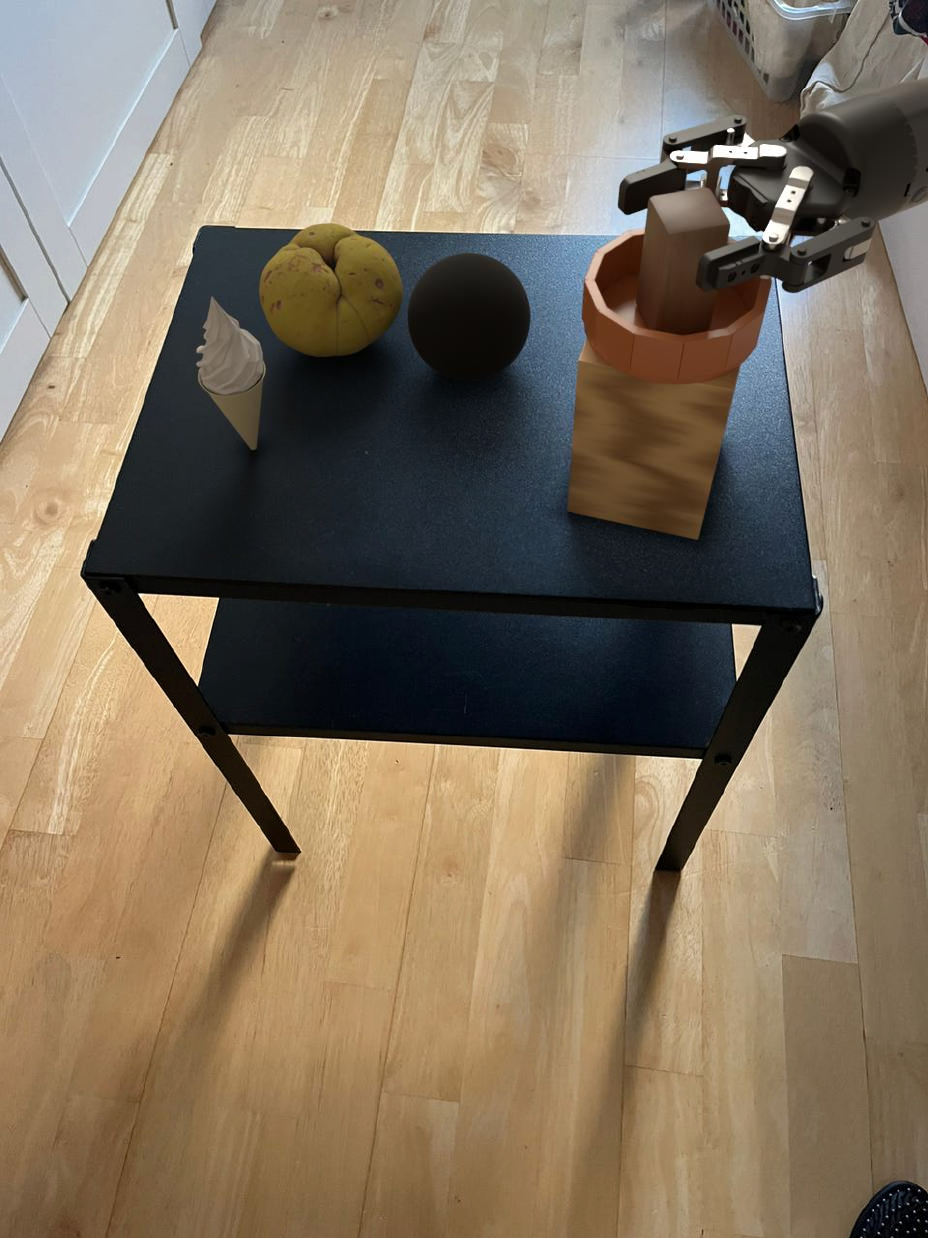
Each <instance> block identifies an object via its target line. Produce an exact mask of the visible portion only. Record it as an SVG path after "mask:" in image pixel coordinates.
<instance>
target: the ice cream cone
mask: <svg viewBox="0 0 928 1238" xmlns="http://www.w3.org/2000/svg"><path fill="white" fill-rule="evenodd" d="M202 328H203V329H204V330H206V331H205V332H204V334H203V339H204V340H205V344H204V345H200V346H198V347H197V348H196V354H202V358H201V360H199V361H197V362H196V367H198V368H199V369H198V375H197V380H198V383H199V385H200V386H201V388H202V389H203V390H204V391H205V392H207V394H208V395H209V397H211V399H212V400H213V402H214V403H215V404H216V406H217V407H218V408H219V409H220V411H221V412H222V413H223V415H224V416H225V418H227V420H228V421H229V422H230V425H232V427H233V428H234V429H235V430H236V431H237V433H238V435H239V436H240V437H241V439H243V440H244V443H246V445H247V447H249V448H250V450H251V451H256V450H257V448H258V439H259V438H258V437H259V426H260V417H261V404H262V396H263V395H262V394H263V385H264V377H265V375H266V364H265V361H264V354H263V349H262V346H261V342H260V341H259V340H257V339H256V338H255V336H253V335H252V334H251V333H250V332H249V331H248V330H246V329H244V328H240V324H239V321H238V320H237V319H235V318H234V317H232V316H231V315H229V314H228V313H227V312H226V311H225V310H224V309H223V307H222V306H220V304H219V303H218V302H217V300H216V299H215V298H214V296H213V295H211V296H210V302H209V309H208V313H207V319H206V321H205V323H204V324H203V326H202Z"/></svg>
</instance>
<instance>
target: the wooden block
mask: <svg viewBox="0 0 928 1238" xmlns="http://www.w3.org/2000/svg"><path fill="white" fill-rule="evenodd" d="M645 217H646V218H645V224H644V225H645V226H644V228H645V232H644V240H643V248H642V257H641V265H640V273H639V281H638V289H637V297H636V303H637V305H638V307H639V309H640V311H641V314H642V316H643V318H644V320H645V322H646V324H647V326H648V328H649V330H655V331H660V332H666V333H671V334H677V335H679V334H685V333H690V332H696V331H702V330H706V329H708V328H709V327H710V325H711V320H712V315H713V310H714V305H715V300H716V295H717V291H718V290H715V289H713V290H711V291H708V292H703V291H702V290H701V289H700V288H699V287H698V286H697V285H696V283H695V280H696V274H697V269H698V263H699V260H700V258H701V257H702V256H703V255H704V254H706V253H708V252H711V251H713V250H716V249H719V248H722V247H724V246H727V241H728V236H729V235H730V231H731V222H730V220H729V217H728V216H727V214H726V213H725V211H724V210H723V207H721V206H720V205H719V203H718V201H717V200H716V198H715V196H714V195H713V193H712V191H711V190H710V189H709V188H698V189H692V190H686V191H680V192H674V193H668V194H662V195H656V196H652V197H651V198H650V199H649V201H648V208H647V209H646V216H645ZM729 237H730V236H729Z"/></svg>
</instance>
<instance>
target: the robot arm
mask: <svg viewBox="0 0 928 1238" xmlns="http://www.w3.org/2000/svg"><path fill="white" fill-rule="evenodd" d="M747 123H748V118H747V117H746V116H744V115H741V114H732V115H729V116H726V117H722V118H719V119H716V120H712V121H708V122H705V123H701V124H698V125H694V126H692V127H688V128H685V129H682V130H678V131H674V132H671V133H667V134H664V135H663V137H662V144H661V152H660V158H659V159H660V160H659V163H658V164H654V165H652V166H649V167H645V168H644V169H641V170H637V171H634V172H632V173H629V174H627V175H626V176H624V177H623V179H622V180H621V182H620V183H619V187H618V196H617V197H618V198H617V208H618V210H620V211H621V212H622V213H623V215H625V216H630V215H633V214H636V213H639V212H642V211H645V210H647V208H648V201H649V199H650V198H651V197H652V196H656V195H662V194H668V193H674V192H680V191H686V190H692V189H698V188H709V189H710V190H711V191H712V193H713V195H714V196H715V198H716V200H717V201H718V203H719V205H720V206H721V208H723V209H724V208H725V209H726V208H727V209H729V210H730V211H731V212H733V213H734V214H735V215H738V216H739V217H741V218H743V219H744V220H745V222H746V223H747V225H748V227H749V228H750V229H752V230H753V231H754V232H755V233H759V232H762V233H763V234H762V237H761V240H760V239H758V238H757V237H756V236H755V235H751V236H748V237H745V238H743V239H741V240H737V241H738V242H735V243H732V244H730V245H727V246H724V247H722V248H719V249H716V250H713V251H711V252H708V253H706V254H704V255H703V256H702V257H701V258H700V260H699V263H698V269H697V274H696V280H695V283H696V285H697V286H698V287H699V288H700V289H701V290H702V291H703V292H708V291H711V290H713V289H715V290H722V289H727V288H729V287H732V286H733V285H734V286H735V285H737V284H739V283H742V282H745V281H748V280H750V279H753V278H755V277H758V278H760V279H773V278H774V279H776V280H778V281H780V282H781V289H782V290H783V291H784V292H786V293H789V294H797V293H800V292H802V291H805V290H806V289H807V290H808V289H809V288H811V287H814V286H816V285H818V284H820V283H822V282H825V281H826V280H828V279H831V278H833V277H835V276H837V275H839V274H842V273H844V272H847V271H849V270H850V269H852V268H854V267H857V266H859V265H862V264H863V263H864V262H865V260H866V256H867V254H868V251H869V248H870V246H871V242H872V240H873V236H874V232H875V229H876V227H877V222H879V221H882V220H885V219H888V218H889V217H891V216H894V215H897V214H900V213H902V212H905V211H908V210H911V209H914V208H915V207H918V206H920V205H922V204H924V203H926V202H928V76H926V77H922V78H918V79H912V80H906V81H900V82H896V83H893V84H890V85H886V86H884V87H880V88H878V89H875V90H872V91H870V92H866V93H864V94H861V95H858V96H854V97H851V98H849V99H847V100H844V101H841V102H838V103H835V104H832V105H829V106H826V107H823V108H820V109H817V110H814V111H812V112H809V113H807V114H806V115H805V114H804V116H802V117H801V118H799V120H798V121H796V123H795V124H794V125H793V126H792V127H790V129H789V130H788V131H787V132H786V133H785V134H783V135H782V136H781V137H780V138H776V139H775V138H774V139H759V140H754V139H753V138H752V137H750V135H748V133H747V132H746V129H747ZM687 148H690V150H685V149H687ZM683 149H684V150H683ZM729 166H734V167H733V169H732V171H731V172H730V175H729V178H728V183H727V188H726V189H725V188H721V187H720V188H719V187H718V186H717V183H718V178H719V176H720V172H721V169H722V168H727V167H729ZM701 171H704V172H705V174H706V178H705V179H704V180H703V181H700V180H692V179H687V178H688V175H691V174H693V173H697V172H701ZM796 237H810V238H809V239H806V240H804V241H802V242H800V243H798V244H795V245H793V246H792V244H793V242H794V240H795V239H796Z"/></svg>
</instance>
